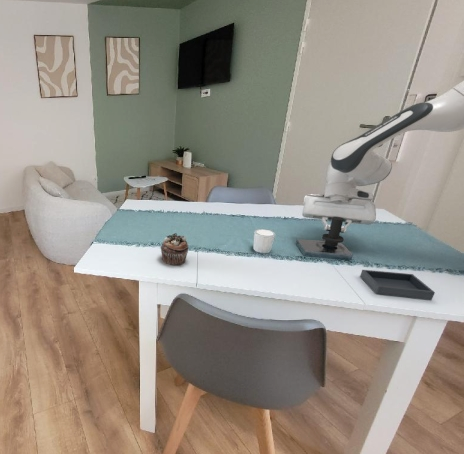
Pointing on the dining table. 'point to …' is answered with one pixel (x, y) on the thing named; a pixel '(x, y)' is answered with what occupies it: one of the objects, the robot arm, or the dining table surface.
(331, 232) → the plug
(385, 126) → the robot arm
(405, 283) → the dark grey tray
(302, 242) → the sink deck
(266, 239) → the white cylinder
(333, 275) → the dining table surface
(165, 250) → the cupcake
